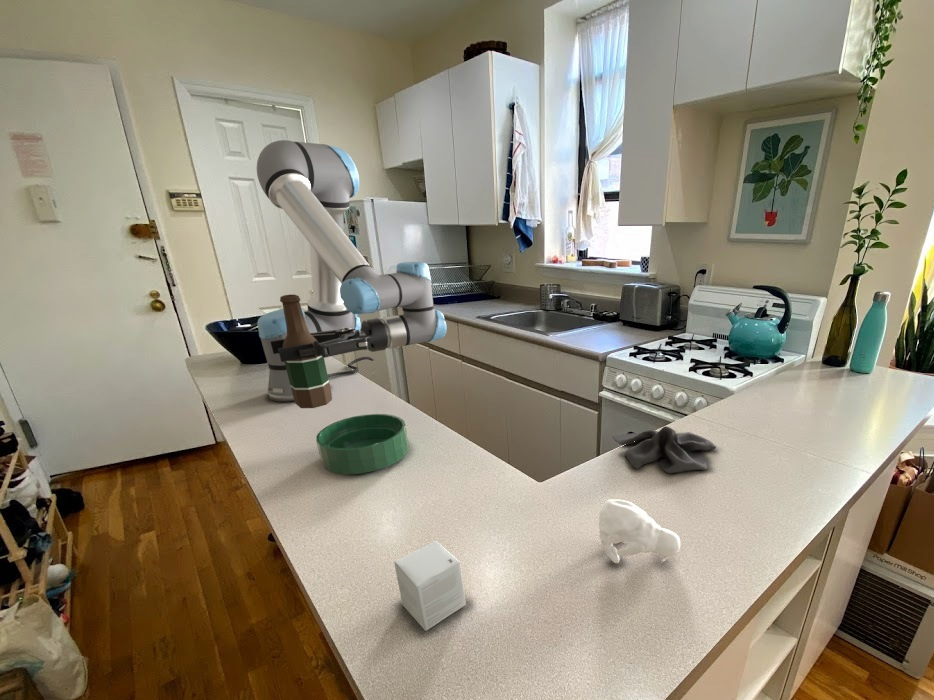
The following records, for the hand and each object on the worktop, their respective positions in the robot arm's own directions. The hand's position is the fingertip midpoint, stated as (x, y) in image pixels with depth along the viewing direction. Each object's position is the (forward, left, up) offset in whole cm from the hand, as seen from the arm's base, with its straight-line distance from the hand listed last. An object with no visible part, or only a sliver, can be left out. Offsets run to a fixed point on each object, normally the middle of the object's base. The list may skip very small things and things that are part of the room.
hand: (276, 351), depth 97 cm
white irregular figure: (+33, +74, -21) cm, 84 cm away
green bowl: (+6, +19, -21) cm, 29 cm away
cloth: (0, +81, -21) cm, 84 cm away
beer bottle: (-3, +3, -13) cm, 14 cm away
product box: (+45, +47, -21) cm, 69 cm away
